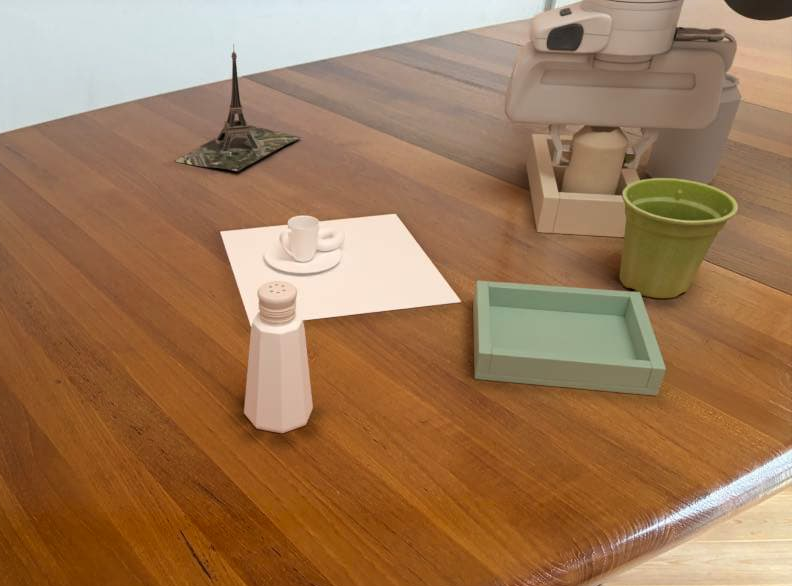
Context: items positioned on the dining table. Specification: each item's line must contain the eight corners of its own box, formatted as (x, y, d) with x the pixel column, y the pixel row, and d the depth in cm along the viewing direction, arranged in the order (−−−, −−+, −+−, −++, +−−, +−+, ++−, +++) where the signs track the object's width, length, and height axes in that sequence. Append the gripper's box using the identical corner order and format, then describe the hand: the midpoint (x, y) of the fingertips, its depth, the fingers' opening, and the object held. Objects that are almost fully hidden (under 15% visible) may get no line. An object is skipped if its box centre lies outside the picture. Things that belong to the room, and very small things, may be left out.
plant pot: (719, 312, 74) (752, 223, 69) (609, 305, 75) (633, 217, 70) (693, 264, 81) (721, 180, 76) (593, 258, 83) (614, 175, 77)
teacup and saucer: (338, 237, 88) (339, 201, 85) (358, 271, 82) (360, 234, 79) (257, 245, 87) (256, 209, 84) (272, 281, 81) (271, 243, 78)
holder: (613, 169, 101) (621, 137, 98) (639, 238, 86) (650, 202, 83) (526, 165, 103) (531, 133, 100) (536, 232, 88) (543, 197, 85)
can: (638, 167, 101) (666, 65, 94) (704, 170, 100) (737, 67, 92) (649, 191, 95) (679, 85, 88) (718, 195, 94) (755, 87, 87)
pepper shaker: (317, 431, 62) (321, 305, 55) (246, 437, 62) (241, 311, 55) (308, 389, 66) (310, 267, 60) (241, 394, 66) (236, 272, 59)
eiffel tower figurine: (238, 176, 102) (234, 64, 94) (174, 161, 107) (165, 53, 99) (301, 140, 112) (302, 35, 104) (240, 127, 116) (237, 26, 108)
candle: (549, 218, 90) (568, 127, 84) (565, 200, 94) (585, 112, 88) (600, 229, 88) (623, 137, 82) (615, 211, 91) (638, 121, 85)
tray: (632, 317, 74) (640, 291, 72) (657, 396, 64) (666, 369, 63) (473, 304, 76) (477, 280, 75) (474, 379, 67) (478, 352, 65)
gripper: (734, 20, 80) (691, 159, 88) (516, 16, 83) (495, 150, 92) (752, 37, 75) (705, 182, 83) (519, 31, 78) (497, 171, 87)
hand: (593, 165), depth 87 cm, fingers closed on candle, 5 cm apart
